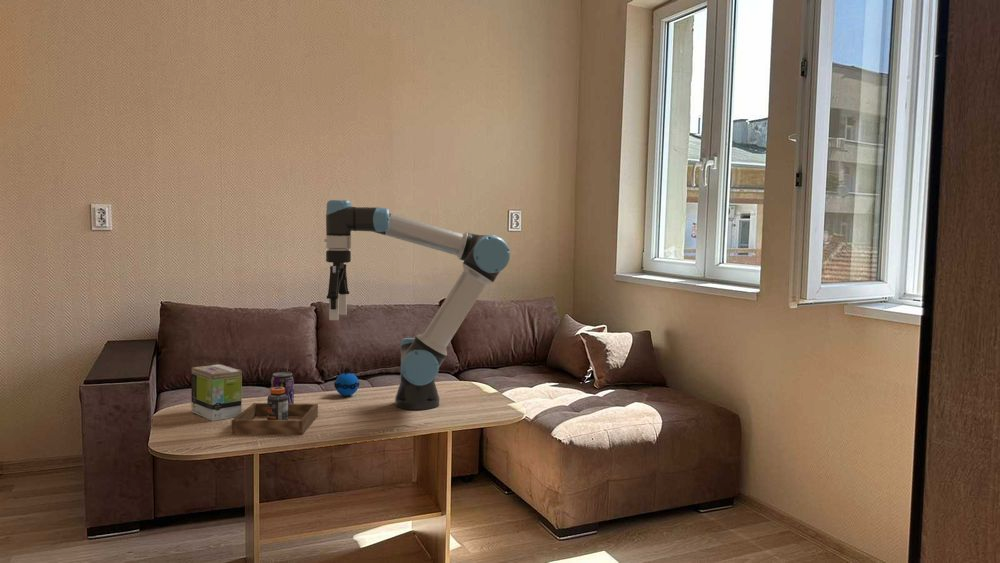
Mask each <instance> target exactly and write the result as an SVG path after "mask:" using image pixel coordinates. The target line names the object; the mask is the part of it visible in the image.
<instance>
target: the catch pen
mask: <svg viewBox="0 0 1000 563" xmlns="http://www.w3.org/2000/svg"><path fill="white" fill-rule="evenodd" d="M256 417H262V418H263V417H265V418H267V403H266V402H262V403H261V402H253V403H252V404H251V405H250V406H248V407H247V408H245V410H243V411H241V414H239V415H238V416H237V417H233V419H232V420H231V435H271V436H272V435H275V436H276V435H277V436H279V435H283V436H284V435H286V436H287V435H288V436H292V435H293V436H303V434H304V433H305V432H306V431H307V430H308V429H309V428H310V427H311V425H313V423H314V422H315V420H316V419H317V418H318V417H319V404H318V403H294V404H288V418H300V419H299V420H297V419H292V420H291V419H288V420H267V419H255V418H256Z"/></svg>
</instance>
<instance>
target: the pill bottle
mask: <svg viewBox="0 0 1000 563" xmlns="http://www.w3.org/2000/svg"><path fill="white" fill-rule="evenodd" d="M284 393H285V388H284V387H273V388H271V387H270V394H269V395H268V396H267V399H266V400H267V401H266V402H267V417H266V420H289V417H288V396H287V395H286V394H284Z"/></svg>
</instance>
